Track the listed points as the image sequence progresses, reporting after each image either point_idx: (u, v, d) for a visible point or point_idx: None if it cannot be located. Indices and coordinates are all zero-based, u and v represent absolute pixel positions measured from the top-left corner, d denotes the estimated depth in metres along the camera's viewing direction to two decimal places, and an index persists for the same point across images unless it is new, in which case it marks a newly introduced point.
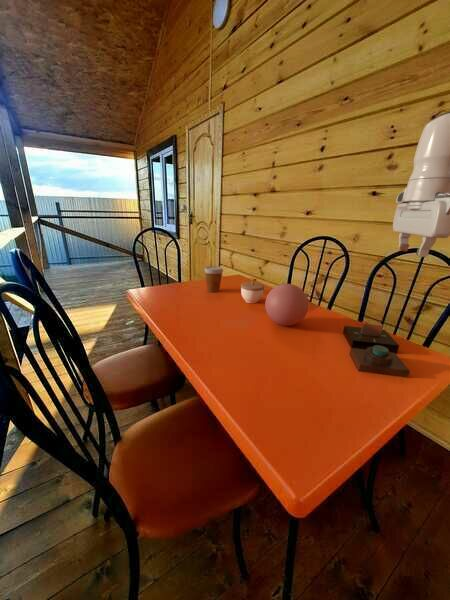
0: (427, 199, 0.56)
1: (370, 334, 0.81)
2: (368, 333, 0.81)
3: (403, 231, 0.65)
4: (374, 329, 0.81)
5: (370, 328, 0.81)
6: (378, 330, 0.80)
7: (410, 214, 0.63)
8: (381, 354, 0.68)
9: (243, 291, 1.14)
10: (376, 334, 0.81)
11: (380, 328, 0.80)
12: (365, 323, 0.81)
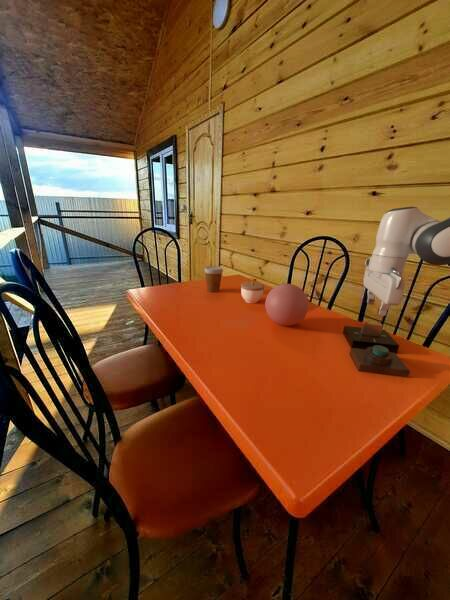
0: (384, 272, 0.72)
1: (370, 334, 0.81)
2: (368, 333, 0.81)
3: (369, 290, 0.81)
4: (374, 329, 0.81)
5: (370, 328, 0.81)
6: (378, 330, 0.80)
7: (374, 278, 0.78)
8: (381, 354, 0.68)
9: (243, 291, 1.14)
10: (376, 334, 0.81)
11: (380, 328, 0.80)
12: (365, 323, 0.81)
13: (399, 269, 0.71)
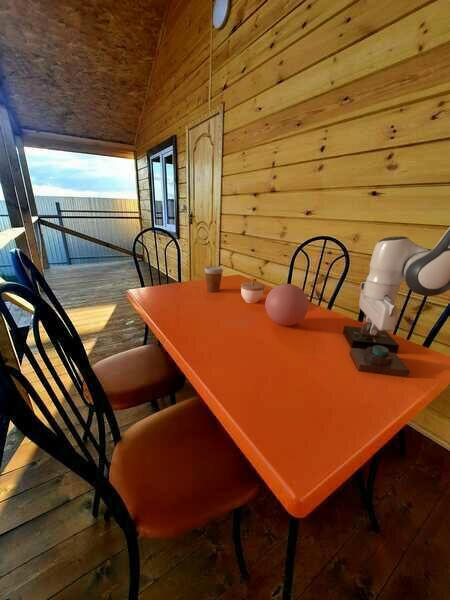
0: (378, 298, 0.74)
1: (370, 334, 0.81)
2: (368, 333, 0.81)
3: (365, 313, 0.83)
4: None
5: None
6: (378, 330, 0.80)
7: (369, 302, 0.81)
8: (381, 354, 0.68)
9: (243, 291, 1.14)
10: (376, 334, 0.81)
11: None
12: (365, 323, 0.81)
13: (392, 296, 0.73)
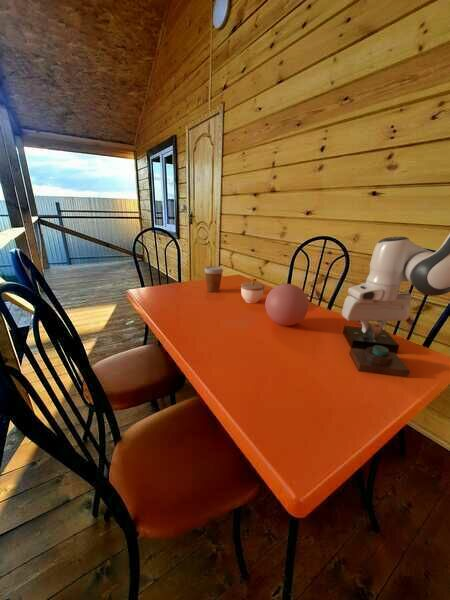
0: None
1: None
2: None
3: (368, 320, 0.78)
4: None
5: None
6: None
7: (373, 306, 0.77)
8: (381, 354, 0.68)
9: (243, 291, 1.14)
10: None
11: None
12: None
13: None
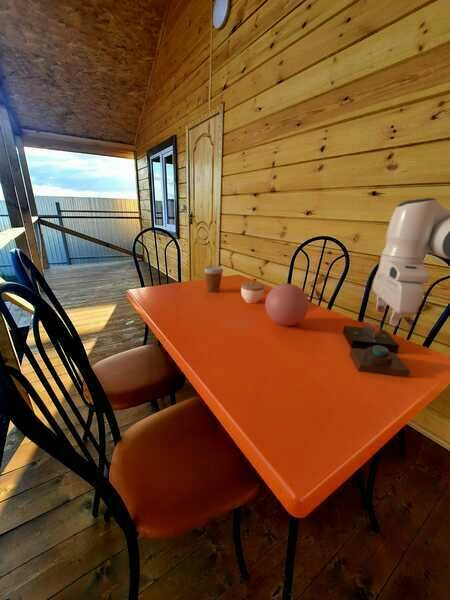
0: None
1: None
2: None
3: None
4: None
5: None
6: None
7: None
8: (381, 354, 0.68)
9: (243, 291, 1.14)
10: None
11: None
12: None
13: None
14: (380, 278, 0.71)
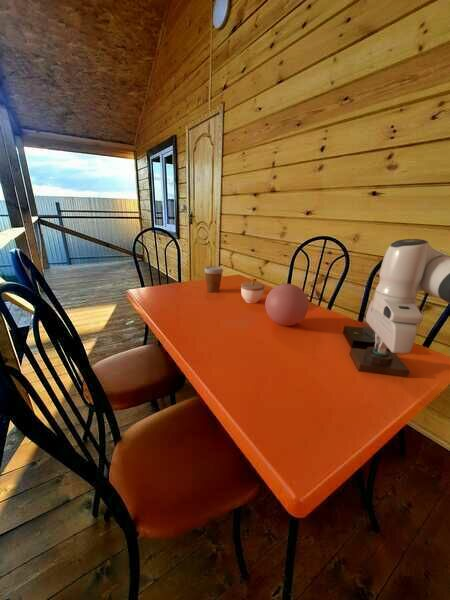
0: None
1: None
2: None
3: None
4: None
5: None
6: None
7: None
8: None
9: (243, 291, 1.14)
10: None
11: None
12: None
13: None
14: (373, 311, 0.72)
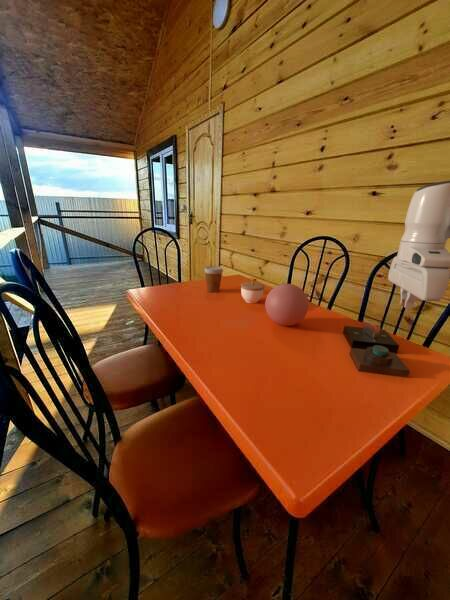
0: None
1: None
2: None
3: None
4: None
5: None
6: None
7: None
8: (381, 354, 0.68)
9: (243, 291, 1.14)
10: None
11: None
12: None
13: None
14: (397, 267, 0.69)
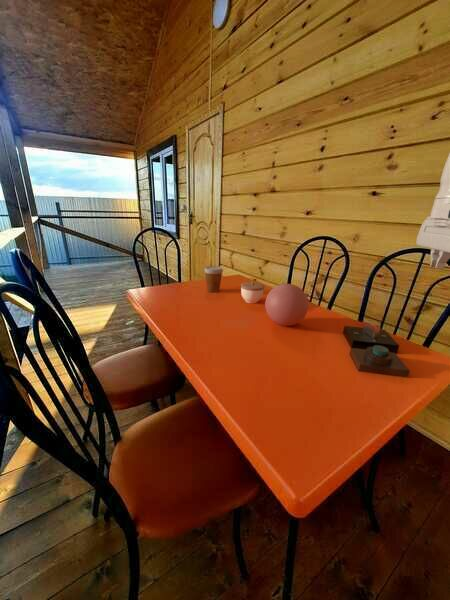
0: None
1: None
2: None
3: None
4: None
5: None
6: None
7: None
8: (381, 354, 0.68)
9: (243, 291, 1.14)
10: None
11: None
12: None
13: None
14: (428, 229, 0.69)
